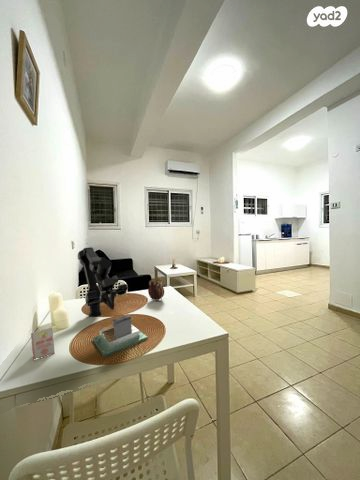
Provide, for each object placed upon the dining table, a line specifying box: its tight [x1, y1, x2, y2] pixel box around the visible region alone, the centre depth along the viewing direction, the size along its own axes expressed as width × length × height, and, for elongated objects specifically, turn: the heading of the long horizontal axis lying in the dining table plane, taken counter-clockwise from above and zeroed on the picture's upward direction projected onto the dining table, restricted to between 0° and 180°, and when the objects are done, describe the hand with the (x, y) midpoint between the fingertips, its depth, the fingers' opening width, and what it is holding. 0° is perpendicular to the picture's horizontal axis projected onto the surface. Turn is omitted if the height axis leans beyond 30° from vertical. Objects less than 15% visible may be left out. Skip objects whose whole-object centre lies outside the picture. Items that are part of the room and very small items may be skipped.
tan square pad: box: [101, 317, 134, 330], centre depth 86 cm, size 1×11×9 cm
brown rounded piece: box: [147, 277, 165, 302], centre depth 130 cm, size 11×5×15 cm, turn 58°
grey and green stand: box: [92, 314, 148, 359], centre depth 85 cm, size 16×18×11 cm
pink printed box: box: [30, 326, 55, 360], centre depth 77 cm, size 4×7×10 cm, turn 126°
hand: (112, 309), depth 89 cm, fingers closed
